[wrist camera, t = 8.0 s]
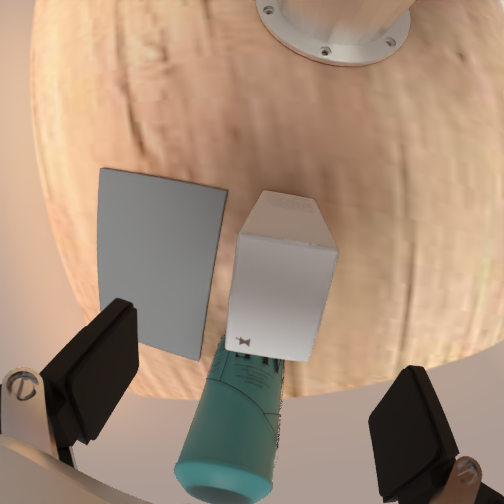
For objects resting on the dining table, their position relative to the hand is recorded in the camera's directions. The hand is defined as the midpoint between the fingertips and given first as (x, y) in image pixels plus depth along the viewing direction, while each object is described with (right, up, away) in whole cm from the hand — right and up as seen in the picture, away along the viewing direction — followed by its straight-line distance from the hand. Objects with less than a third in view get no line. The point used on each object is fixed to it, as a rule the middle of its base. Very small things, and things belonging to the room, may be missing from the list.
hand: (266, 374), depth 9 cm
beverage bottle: (0, -5, +19) cm, 19 cm away
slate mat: (-10, +2, +17) cm, 20 cm away
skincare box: (+2, +6, +14) cm, 16 cm away
